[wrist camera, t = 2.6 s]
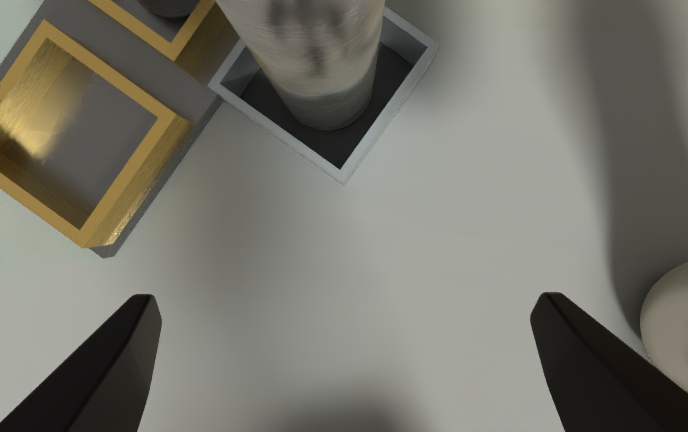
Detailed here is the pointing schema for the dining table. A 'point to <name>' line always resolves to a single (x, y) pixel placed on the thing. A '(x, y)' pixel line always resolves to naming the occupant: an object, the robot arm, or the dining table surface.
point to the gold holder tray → (105, 110)
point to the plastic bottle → (668, 324)
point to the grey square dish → (419, 54)
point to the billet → (314, 53)
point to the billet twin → (169, 7)
